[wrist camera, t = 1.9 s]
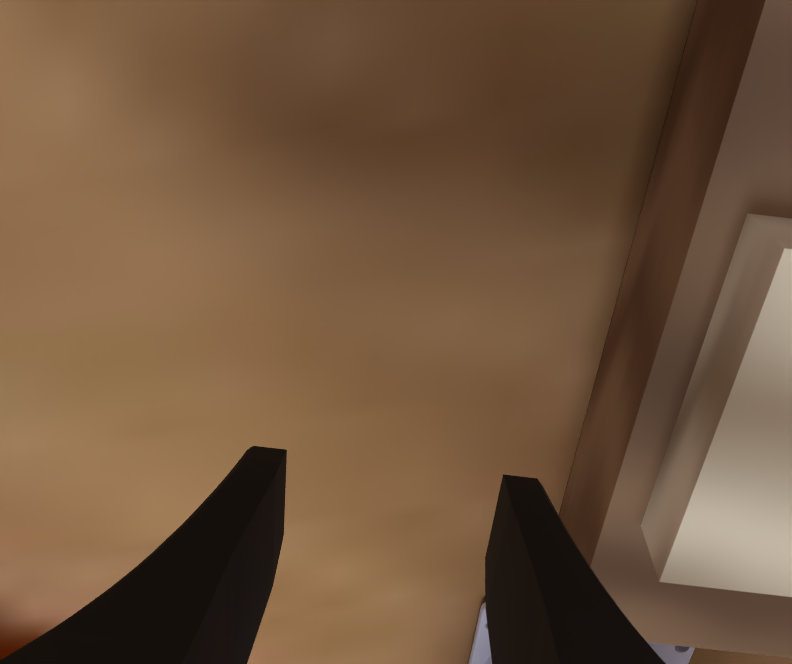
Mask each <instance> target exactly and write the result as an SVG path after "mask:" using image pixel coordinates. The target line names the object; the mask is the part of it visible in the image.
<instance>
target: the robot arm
mask: <svg viewBox="0 0 792 664" xmlns="http://www.w3.org/2000/svg"><path fill="white" fill-rule="evenodd" d="M286 455H287V450H284V449H275V448H266V447H258V446H253V447H251V448H250V449H248V450H247V451H246V452H245V454H244V455H243V456H242V458H241V459H240V460H239V461H238V463H237V464H236V465H235V466H234V468H233V469H232V470H231V471H230V473H229V474H228V475H227V476H226V477H225V479H224V480H223V481H222V482H221V483H220V484H219V485H218V487H217V488H216V489H215V490H214V491H213V492H212V493H211V495H210V496H209V497H208V498H207V499H206V500H205V501H204V502H203V503H202V504H201V505H200V506H199V507H198V508H197V509H196V511H195V512H194V513H193V514H192V515H191V516H190V517H189V518H188V519H187V520H186V521H185V522H184V523H183V524H182V525H181V526H180V527H179V528H178V529H177V530H176V531H175V532H174V533H173V534H172V535H171V536H170V537H168V538H167V539H166V540H165V541H164V542H163V543H162V544H161V545H160V546H159V547H158V548H157V549H156V550H155V551H154V552H153V553H151V554H150V555H149V556H148V557H147V558H146V559H145V560H144V561H142V562H141V563H140V564H139V565H138V566H137V567H135V568H134V569H133V570H132V571H131V572H129V573H128V574H127V575H126V576H124V577H123V578H122V579H121V580H119V581H118V582H117V583H116V584H114V585H113V586H112V587H111V588H109V589H108V590H107V591H105V592H104V593H103V594H101V595H100V596H99V597H97V598H96V599H94V600H93V601H92V602H90V603H89V604H88V605H86V606H85V607H83V608H82V609H81V610H79V611H78V612H77V613H75V614H74V615H72V616H71V617H69V618H68V619H66V620H65V621H63V622H62V623H60V624H59V625H57V626H56V627H54V628H53V629H51V630H50V631H48V632H46V633H45V634H43V635H41V636H40V637H38V638H36V639H35V640H33V641H32V642H30V643H28V644H27V645H25V646H23V647H22V648H20V649H18V650H17V651H15V652H13V653H12V654H10V655H8V656H7V657H5V658H3V659H2V660H0V664H247V662H248V659H249V656H250V653H251V650H252V647H253V644H254V641H255V638H256V635H257V632H258V629H259V626H260V623H261V620H262V617H263V614H264V611H265V608H266V605H267V602H268V599H269V596H270V593H271V590H272V587H273V582H274V578H275V573H276V569H277V564H278V559H279V554H280V550H281V545H282V540H283V535H284V510H285V483H286ZM485 592H486V602H484V603H483V604H482V606H481V609H480V613H479V618H478V622H477V627H476V631H475V636H474V641H473V645H472V650H471V654H470V659H469V663H468V664H688V663H689V661H690V659H691V656H692V654H693V652H694V649H695V648H693V647H684V646H675V645H667V644H658V643H649V642H646V641H645V639H644V638H643V637H642V636H641V635H640V633H639V632H638V631H637V630H636V628H635V627H634V626H633V625H632V624H631V622H630V621H629V620H628V618H627V617H626V616H625V615H624V613H623V612H622V611H621V609H620V608H619V607H618V605H617V604H616V603H615V601H614V600H613V598H612V597H611V596H610V594H609V593H608V592H607V590H606V589H605V588H604V586H603V585H602V583H601V582H600V580H599V579H598V577H597V576H596V575H595V573H594V572H593V570H592V568H591V567H590V565H589V564H588V562H587V561H586V559H585V558H584V556H583V555H582V553H581V552H580V550H579V549H578V547H577V545H576V544H575V542H574V541H573V539H572V537H571V536H570V534H569V532H568V531H567V529H566V527H565V526H564V524H563V522H562V520H561V519H560V517H559V515H558V513H557V512H556V510H555V508H554V506H553V504H552V503H551V501H550V499H549V497H548V495H547V493H546V492H545V490H544V488H543V486H542V484H541V483H540V482H539V480H538V479H537V478H528V477H519V476H511V475H503V478H502V483H501V488H500V492H499V497H498V502H497V506H496V511H495V516H494V520H493V525H492V530H491V534H490V539H489V544H488V548H487V553H486V557H485Z"/></svg>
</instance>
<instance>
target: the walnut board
mask: <svg viewBox="0 0 792 664" xmlns="http://www.w3.org/2000/svg"><path fill="white" fill-rule="evenodd" d="M747 213H748V214H757V215H765V216H774V217H783V218H792V0H698V1H697V5H696V9H695V12H694V16H693V20H692V23H691V27H690V31H689V35H688V38H687V42H686V46H685V49H684V53H683V57H682V61H681V64H680V68H679V72H678V75H677V79H676V83H675V87H674V90H673V94H672V98H671V101H670V105H669V109H668V113H667V116H666V120H665V124H664V127H663V131H662V135H661V139H660V142H659V146H658V150H657V153H656V157H655V161H654V165H653V168H652V172H651V176H650V179H649V183H648V187H647V191H646V194H645V198H644V202H643V205H642V209H641V213H640V217H639V220H638V224H637V228H636V231H635V235H634V239H633V243H632V246H631V250H630V254H629V257H628V261H627V265H626V269H625V272H624V276H623V280H622V283H621V287H620V291H619V294H618V298H617V302H616V306H615V309H614V313H613V317H612V320H611V324H610V328H609V332H608V335H607V339H606V343H605V346H604V350H603V354H602V358H601V361H600V365H599V369H598V372H597V376H596V380H595V384H594V387H593V391H592V395H591V398H590V402H589V406H588V410H587V413H586V417H585V421H584V424H583V428H582V432H581V436H580V439H579V443H578V447H577V450H576V454H575V458H574V462H573V465H572V469H571V473H570V476H569V480H568V484H567V488H566V491H565V495H564V499H563V502H562V506H561V510H560V514H559V517H560V519H561V520H562V522H563V524H564V526H565V527H566V529H567V531H568V532H569V534H570V536H571V537H572V539H573V541H574V542H575V544H576V545H577V547H578V549H579V550H580V552H581V553H582V555H583V556H584V558H585V559H586V561H587V562H588V564H589V565H590V567H591V568H592V570H593V572H594V573H595V575H596V576H597V577H598V579H599V580H600V582H601V583H602V585H603V586H604V588H605V589H606V590H607V592H608V593H609V594H610V596H611V597H612V598H613V600H614V601H615V603H616V604H617V605H618V607H619V608H620V609H621V611H622V612H623V613H624V615H625V616H626V617H627V618H628V620H629V621H630V622H631V624H632V625H633V626H634V627H635V628H636V630H637V631H638V632H639V633H640V635H641V636H642V637H643V638H644V639H645V641H646V642H649V643H658V644H667V645H675V646H684V647H693V648H702V649H710V650H719V651H728V652H736V653H745V654H754V655H762V656H771V657H780V658H788V659H792V597H786V596H778V595H769V594H760V593H752V592H743V591H734V590H726V589H717V588H708V587H699V586H691V585H682V584H673V583H665V582H659V580H658V577H657V574H656V570H655V567H654V564H653V561H652V558H651V555H650V552H649V549H648V546H647V543H646V540H645V537H644V534H643V531H642V528H641V523H642V521H643V518H644V515H645V512H646V509H647V506H648V503H649V500H650V497H651V494H652V491H653V488H654V485H655V482H656V480H657V477H658V474H659V471H660V468H661V465H662V462H663V459H664V456H665V453H666V450H667V447H668V444H669V441H670V439H671V436H672V433H673V430H674V427H675V424H676V421H677V418H678V415H679V412H680V409H681V406H682V403H683V400H684V398H685V395H686V392H687V389H688V386H689V383H690V380H691V377H692V374H693V371H694V368H695V365H696V362H697V360H698V357H699V354H700V351H701V348H702V345H703V342H704V339H705V336H706V333H707V330H708V327H709V324H710V321H711V319H712V316H713V313H714V310H715V307H716V304H717V301H718V298H719V295H720V292H721V289H722V286H723V283H724V280H725V278H726V275H727V272H728V269H729V266H730V263H731V260H732V257H733V254H734V251H735V248H736V245H737V242H738V239H739V237H740V234H741V231H742V228H743V225H744V222H745V219H746V216H747Z"/></svg>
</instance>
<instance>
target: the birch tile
mask: <svg viewBox="0 0 792 664" xmlns="http://www.w3.org/2000/svg"><path fill="white" fill-rule="evenodd" d="M641 528H642V531H643V534H644V537H645V540H646V543H647V546H648V549H649V552H650V555H651V558H652V561H653V564H654V567H655V570H656V574H657V577H658V580H659V582H665V583H673V584H682V585H691V586H699V587H708V588H717V589H726V590H734V591H743V592H752V593H760V594H769V595H778V596H786V597H792V218H783V217H774V216H765V215H757V214H748V213H747V216H746V219H745V222H744V225H743V228H742V231H741V234H740V237H739V239H738V242H737V245H736V248H735V251H734V254H733V257H732V260H731V263H730V266H729V269H728V272H727V275H726V278H725V280H724V283H723V286H722V289H721V292H720V295H719V298H718V301H717V304H716V307H715V310H714V313H713V316H712V319H711V321H710V324H709V327H708V330H707V333H706V336H705V339H704V342H703V345H702V348H701V351H700V354H699V357H698V360H697V362H696V365H695V368H694V371H693V374H692V377H691V380H690V383H689V386H688V389H687V392H686V395H685V398H684V400H683V403H682V406H681V409H680V412H679V415H678V418H677V421H676V424H675V427H674V430H673V433H672V436H671V439H670V441H669V444H668V447H667V450H666V453H665V456H664V459H663V462H662V465H661V468H660V471H659V474H658V477H657V480H656V482H655V485H654V488H653V491H652V494H651V497H650V500H649V503H648V506H647V509H646V512H645V515H644V518H643V521H642V523H641Z"/></svg>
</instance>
